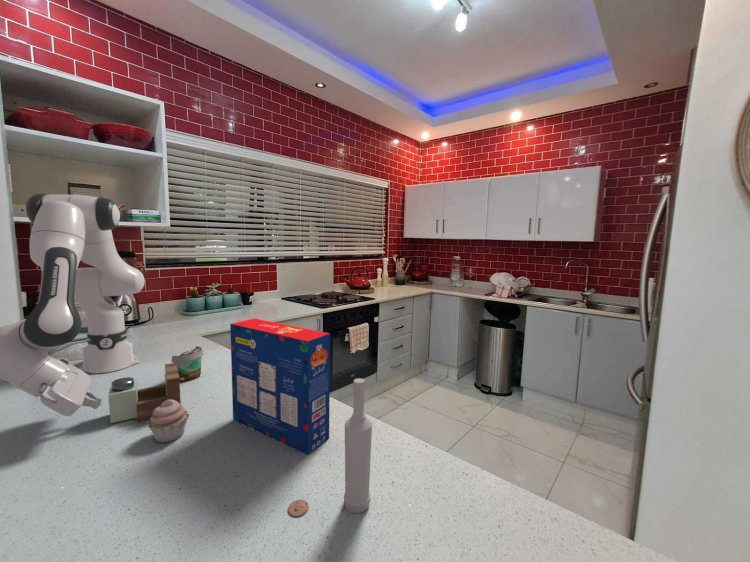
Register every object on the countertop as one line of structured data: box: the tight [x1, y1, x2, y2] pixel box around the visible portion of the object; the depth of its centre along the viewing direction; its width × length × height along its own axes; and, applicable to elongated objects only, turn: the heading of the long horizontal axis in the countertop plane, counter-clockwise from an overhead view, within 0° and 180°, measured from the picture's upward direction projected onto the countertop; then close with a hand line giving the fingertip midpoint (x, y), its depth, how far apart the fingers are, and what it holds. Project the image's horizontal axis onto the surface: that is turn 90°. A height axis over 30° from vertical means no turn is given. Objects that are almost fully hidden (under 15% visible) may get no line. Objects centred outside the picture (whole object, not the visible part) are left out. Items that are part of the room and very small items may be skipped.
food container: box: [171, 345, 205, 383], centre depth 121 cm, size 12×6×10 cm, turn 168°
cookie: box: [287, 499, 310, 518], centre depth 63 cm, size 4×4×1 cm
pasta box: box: [229, 317, 331, 456], centre depth 88 cm, size 28×8×28 cm, turn 59°
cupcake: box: [146, 399, 190, 444], centre depth 84 cm, size 9×9×10 cm
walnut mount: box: [133, 362, 182, 423], centre depth 98 cm, size 14×11×11 cm
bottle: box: [343, 377, 373, 514], centre depth 63 cm, size 5×5×25 cm
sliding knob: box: [107, 376, 138, 424], centre depth 94 cm, size 7×6×10 cm
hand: (99, 404), depth 91 cm, fingers closed
